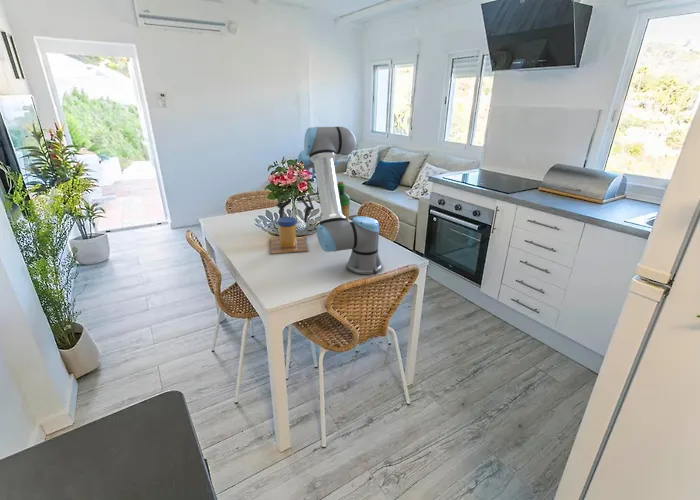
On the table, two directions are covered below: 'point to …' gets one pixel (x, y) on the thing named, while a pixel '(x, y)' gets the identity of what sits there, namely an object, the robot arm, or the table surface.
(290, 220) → the lid
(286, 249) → the mat
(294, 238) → the jar
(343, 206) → the bottle
